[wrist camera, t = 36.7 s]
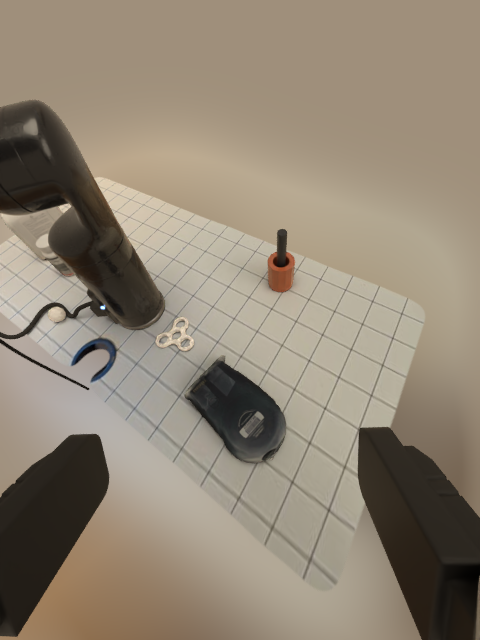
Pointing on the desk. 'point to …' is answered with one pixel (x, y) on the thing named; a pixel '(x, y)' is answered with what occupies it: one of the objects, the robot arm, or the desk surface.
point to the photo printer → (33, 226)
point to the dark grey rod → (281, 247)
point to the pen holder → (280, 273)
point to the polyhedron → (56, 314)
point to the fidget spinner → (179, 340)
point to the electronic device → (239, 412)
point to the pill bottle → (52, 256)
